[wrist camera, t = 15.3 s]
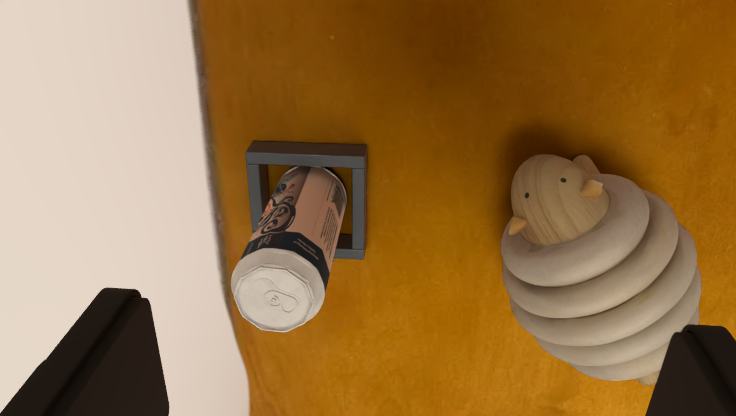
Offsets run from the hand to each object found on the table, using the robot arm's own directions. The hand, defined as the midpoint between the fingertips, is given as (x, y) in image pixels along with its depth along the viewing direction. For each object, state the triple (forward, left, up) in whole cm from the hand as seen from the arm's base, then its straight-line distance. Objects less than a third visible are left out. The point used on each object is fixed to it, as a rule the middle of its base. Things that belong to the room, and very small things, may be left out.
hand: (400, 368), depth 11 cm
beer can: (+2, -12, -28) cm, 30 cm away
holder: (+2, -12, -27) cm, 30 cm away
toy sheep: (+16, -2, -28) cm, 32 cm away
